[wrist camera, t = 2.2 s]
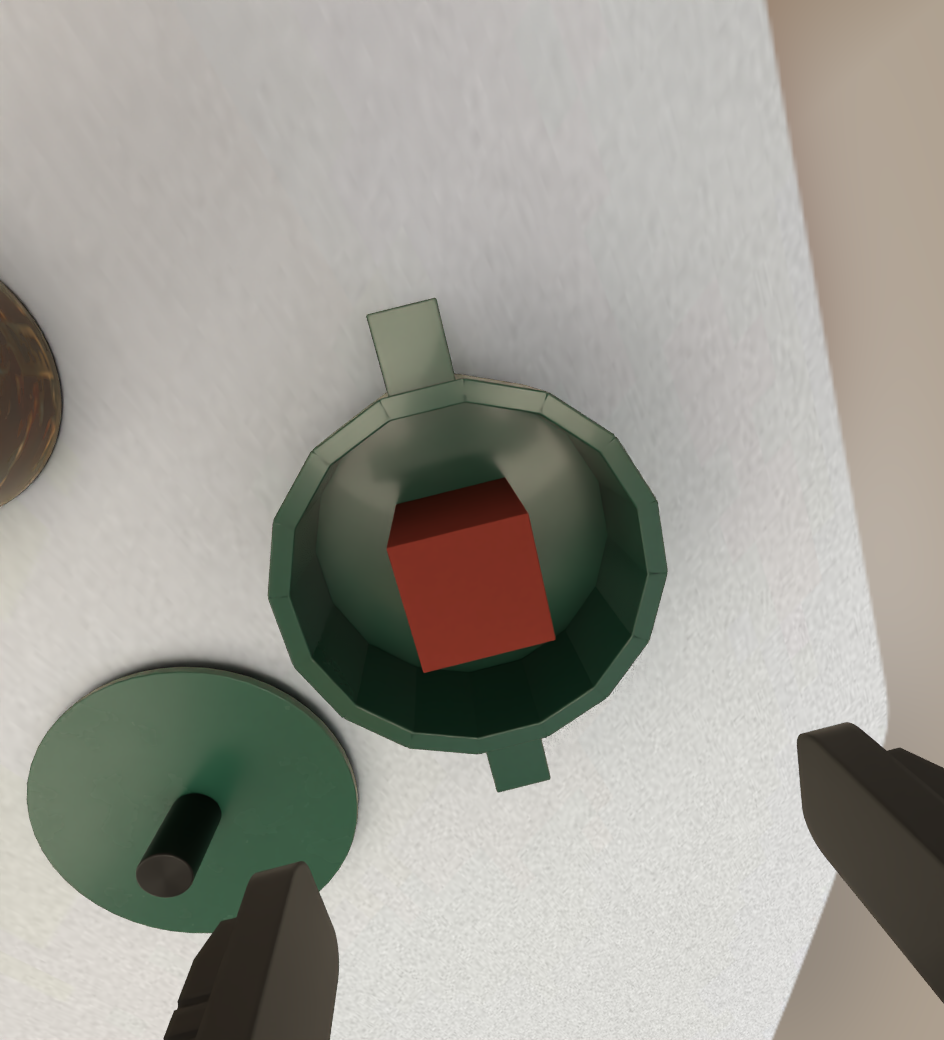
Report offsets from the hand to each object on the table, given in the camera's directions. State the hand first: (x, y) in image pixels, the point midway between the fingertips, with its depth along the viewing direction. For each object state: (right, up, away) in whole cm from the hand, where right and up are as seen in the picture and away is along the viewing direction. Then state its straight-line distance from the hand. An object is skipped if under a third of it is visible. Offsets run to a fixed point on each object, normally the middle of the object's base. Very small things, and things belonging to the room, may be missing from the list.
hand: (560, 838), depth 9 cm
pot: (-2, +4, +17) cm, 18 cm away
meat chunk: (-2, +4, +17) cm, 17 cm away
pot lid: (-15, -9, +19) cm, 26 cm away
